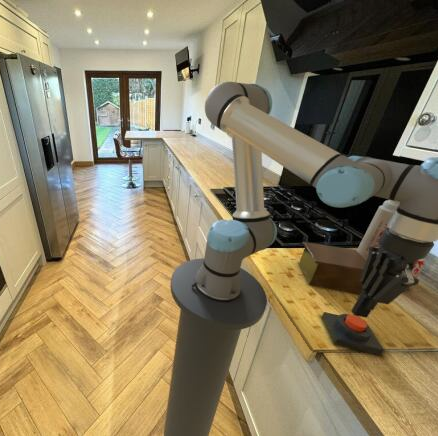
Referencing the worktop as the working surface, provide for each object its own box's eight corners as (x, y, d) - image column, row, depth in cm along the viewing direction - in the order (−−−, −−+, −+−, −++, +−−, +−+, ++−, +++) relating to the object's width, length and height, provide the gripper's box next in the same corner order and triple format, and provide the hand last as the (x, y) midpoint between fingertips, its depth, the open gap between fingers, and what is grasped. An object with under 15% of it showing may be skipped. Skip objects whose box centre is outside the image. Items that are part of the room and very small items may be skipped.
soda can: (408, 284, 82) (427, 256, 77) (408, 294, 78) (429, 264, 73) (381, 274, 87) (398, 247, 81) (380, 283, 82) (397, 254, 77)
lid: (314, 263, 77) (315, 261, 76) (303, 243, 88) (303, 241, 87) (375, 273, 73) (376, 271, 72) (354, 251, 84) (355, 249, 83)
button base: (334, 344, 60) (340, 334, 58) (321, 317, 68) (326, 307, 66) (380, 355, 58) (388, 345, 56) (361, 326, 65) (368, 315, 64)
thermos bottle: (377, 268, 90) (417, 200, 78) (352, 259, 95) (385, 194, 83) (380, 260, 95) (418, 195, 82) (356, 252, 100) (388, 189, 88)
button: (348, 329, 60) (351, 325, 59) (341, 317, 63) (344, 313, 63) (367, 334, 59) (370, 329, 58) (359, 321, 62) (362, 316, 62)
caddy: (309, 284, 80) (318, 263, 76) (298, 263, 91) (306, 244, 87) (362, 295, 77) (375, 273, 73) (344, 271, 88) (354, 251, 84)
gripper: (459, 255, 43) (392, 340, 53) (409, 223, 54) (362, 299, 64) (409, 247, 44) (354, 331, 55) (371, 218, 56) (331, 292, 66)
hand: (358, 314), depth 60 cm, fingers closed
